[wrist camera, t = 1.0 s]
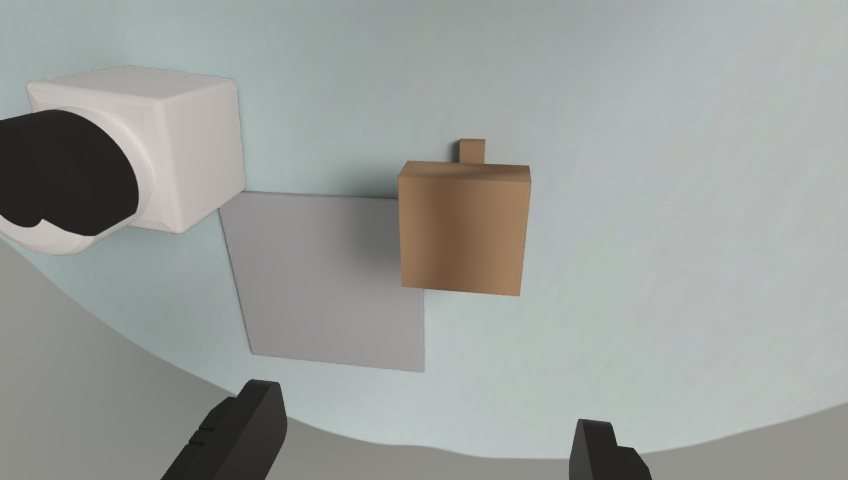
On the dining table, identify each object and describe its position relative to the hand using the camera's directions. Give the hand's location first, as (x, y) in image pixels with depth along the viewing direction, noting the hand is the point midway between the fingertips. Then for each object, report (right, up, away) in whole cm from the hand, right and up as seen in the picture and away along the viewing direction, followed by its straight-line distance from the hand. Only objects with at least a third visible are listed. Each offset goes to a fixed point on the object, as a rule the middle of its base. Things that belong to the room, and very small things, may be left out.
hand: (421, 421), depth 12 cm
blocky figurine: (-15, +12, +17) cm, 26 cm away
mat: (-7, +2, +21) cm, 22 cm away
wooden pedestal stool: (+3, +8, +16) cm, 18 cm away
